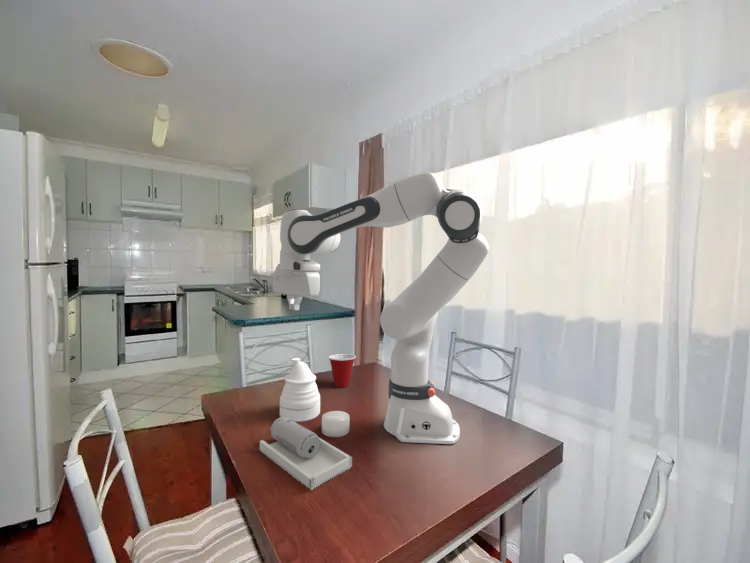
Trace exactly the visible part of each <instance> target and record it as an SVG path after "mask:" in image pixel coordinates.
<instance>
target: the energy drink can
mask: <svg viewBox="0 0 750 563" xmlns="http://www.w3.org/2000/svg"><path fill="white" fill-rule="evenodd" d="M270 434H271V437H272V438H273V439H274V440H276V442H277V441H279V442H280V443H282V444H283V445H285V446H286V447H287V448H289V449H290V450H292V451H293V452H295V453H296V454H298V455H299V456H301V457H303V458H312V457H314V456H315V455H316V454H317V453H318V451H319V449H320V440H319V439H318V437H319V436H318V435H317V434H316V433H315V432H314V431H312V430H310V429H308V428H306V427H305V426H303V425H301V424H299V423H297V422H294V421H292V420H291V419H289V418H287V417H280V416H279V417H278V418H277V419H275V420H274V421H273V423H272V425H271V426H270Z"/></svg>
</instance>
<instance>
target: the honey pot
mask: <svg viewBox="0 0 750 563" xmlns="http://www.w3.org/2000/svg"><path fill="white" fill-rule="evenodd" d="M291 363H292V364H293V365H294V366H292V368H291V370H290V372H289V373H288V374H287V375H285V377H284V379H283V380H284V381H285V383H284V385H283V387H282V391H281V395H280V396H279V418H280V417H287V418H289V419H291V420H292V421H294V422H296V423H297V422H305V421H311V420H312V419H315V418H317V417H318V416H319V415H320V413H321V394H320V392H319V389H318V385H317V383H316V380H317V376H316V375H315V373H313V372H312V371H311V369H310V367H309V366H308V364H307V363H305V362H304V361H302V360H301V358H299V357H294V358H291Z"/></svg>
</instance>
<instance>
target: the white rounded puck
mask: <svg viewBox="0 0 750 563" xmlns="http://www.w3.org/2000/svg"><path fill="white" fill-rule="evenodd" d="M350 418H351V417H350V414H349V413H347V412H345V411H342V410H333V411H332V410H331V411H328V412H325V413H323V414H322V416H321V433H322V434H323V435H324V436H326V437H328V438H340V437H344V436H346V435H347V434H348V433H349V432H350Z"/></svg>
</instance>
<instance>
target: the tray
mask: <svg viewBox="0 0 750 563" xmlns="http://www.w3.org/2000/svg"><path fill="white" fill-rule="evenodd" d="M317 437H318V439H319V440H320V449H319V451H318V453H317V454H316V455H315V456H314V457H312V458H303V457H301V456H299V455H298V454H296V453H295V452H293V451H292V450H290V449H289V448H287V447H286V446H285V445H283V444H282V443H280V442H279V441H277V440H276V441H275V442H272V443H268V442H266V441H265V440H264V439H262V440H259V452H261V453H262V454H263V455H265V456H266V457H267V458H269V459H270V460H271V461H272V462H274V463H275V464H276V465H277V466H279V467H280V468H281V469H282V470H284V471H285V472H286V471H287V473H288V474H289V475H290V476H291V475H292V476H291V477H292V478H294V479H296V481H297V482H299V481H300V482H301V483H300V482H299V483H300V484H302V485H303V484H304V485H305V486H306V488H307V487H308V488H309V489H310V490H309V489H308V488H307V489H308V490H309V491H311V490H312V491H313V489H314V488H315V489H317V488H319V487H321V486H322V485H324V484H326V483H327V481H328V480H329V481H331V480H333V479H335V478H336V477H338V476H339V474H340V475H342V474H343V473H345V472H347V471H348V470H351V467H352V468H353V456H351V455H350V454H347V453H346V452H344V451H343V450H341V449H340V448H337V447H335V446H334V445H332V444H330V443H329V442H327V441H326V440H324V439H323V438H320V437H319V436H317ZM346 470H347V471H346ZM337 475H338V476H337ZM334 477H335V478H334ZM332 478H333V479H332ZM330 479H331V480H330ZM329 481H328V482H329ZM325 482H326V483H325ZM323 483H324V484H323ZM321 484H322V485H321ZM304 485H303V486H304ZM320 485H321V486H320ZM305 486H304V487H305ZM318 486H319V487H318ZM316 487H317V488H316ZM315 489H314V490H315Z"/></svg>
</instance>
